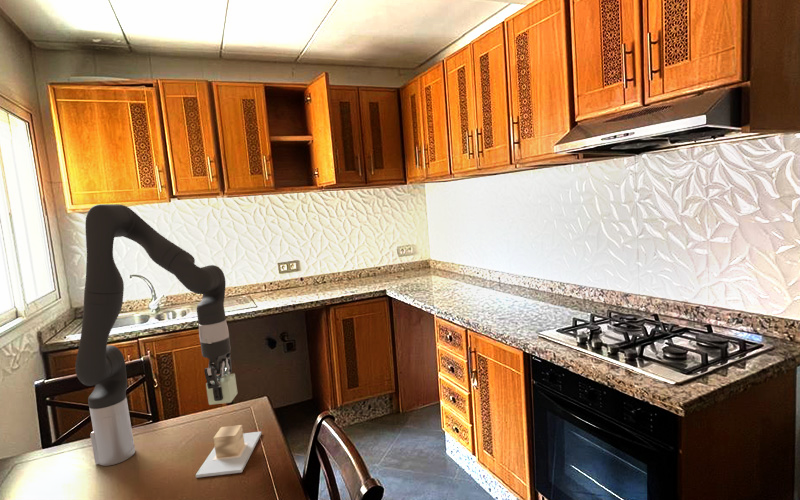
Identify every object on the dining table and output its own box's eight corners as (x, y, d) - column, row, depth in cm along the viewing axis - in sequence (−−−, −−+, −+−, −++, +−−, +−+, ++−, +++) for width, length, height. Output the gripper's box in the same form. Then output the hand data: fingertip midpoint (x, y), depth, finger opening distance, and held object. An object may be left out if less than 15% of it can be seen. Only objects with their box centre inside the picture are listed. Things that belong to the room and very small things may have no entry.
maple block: (216, 458, 125) (213, 437, 124) (223, 446, 131) (221, 427, 130) (238, 455, 125) (235, 435, 124) (244, 444, 131) (241, 424, 130)
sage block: (208, 404, 123) (205, 384, 122) (216, 395, 129) (213, 375, 128) (230, 402, 123) (227, 381, 123) (237, 393, 129) (234, 373, 129)
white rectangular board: (196, 477, 118) (195, 474, 118) (222, 438, 138) (221, 435, 137) (241, 472, 118) (241, 469, 118) (261, 433, 138) (261, 431, 138)
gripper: (210, 331, 131) (218, 386, 133) (190, 347, 117) (199, 408, 119) (236, 328, 132) (243, 383, 133) (219, 344, 117) (227, 405, 119)
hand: (222, 394), depth 126 cm, fingers closed on sage block, 6 cm apart
